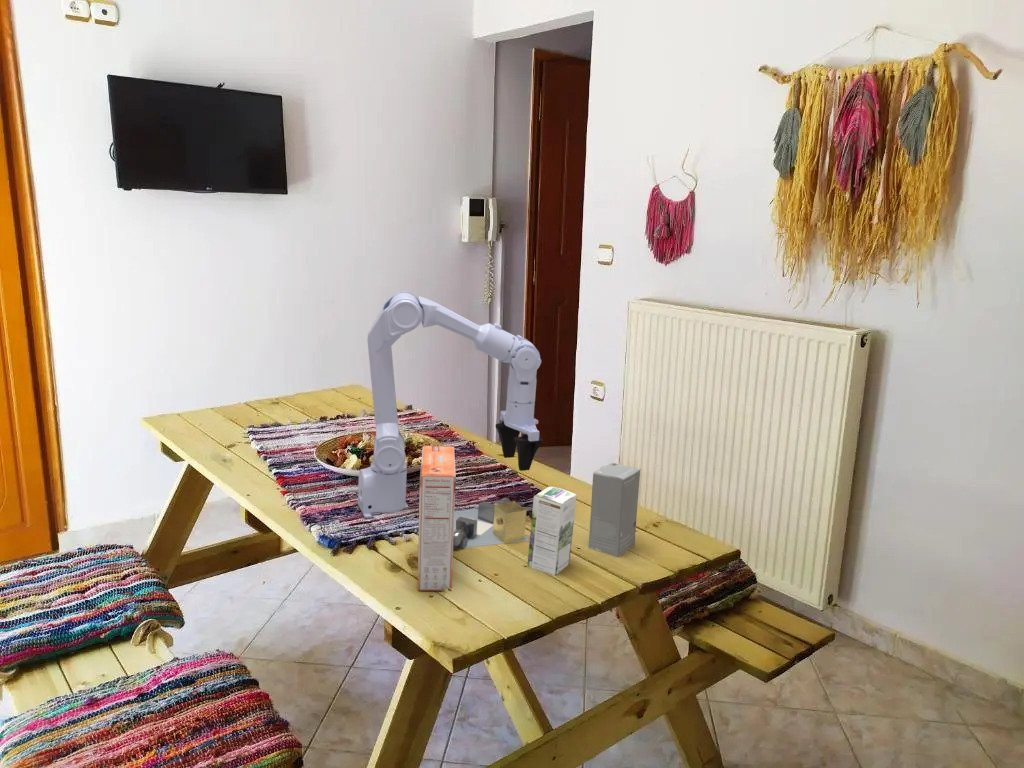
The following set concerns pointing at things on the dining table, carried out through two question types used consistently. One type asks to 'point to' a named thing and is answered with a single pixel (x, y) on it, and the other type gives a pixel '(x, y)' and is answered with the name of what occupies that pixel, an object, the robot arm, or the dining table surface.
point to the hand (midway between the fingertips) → (516, 463)
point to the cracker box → (436, 518)
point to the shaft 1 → (464, 532)
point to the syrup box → (551, 530)
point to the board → (480, 530)
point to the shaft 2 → (489, 510)
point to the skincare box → (614, 509)
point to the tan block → (509, 522)
